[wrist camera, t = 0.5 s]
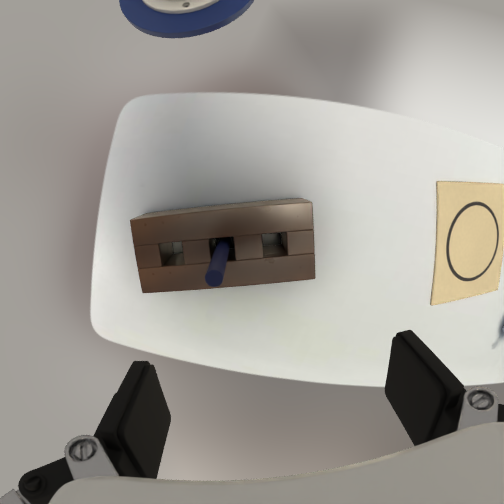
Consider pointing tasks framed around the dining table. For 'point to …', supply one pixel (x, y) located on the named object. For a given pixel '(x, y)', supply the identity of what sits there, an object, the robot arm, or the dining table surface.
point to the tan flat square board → (468, 240)
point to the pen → (218, 263)
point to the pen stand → (239, 258)
